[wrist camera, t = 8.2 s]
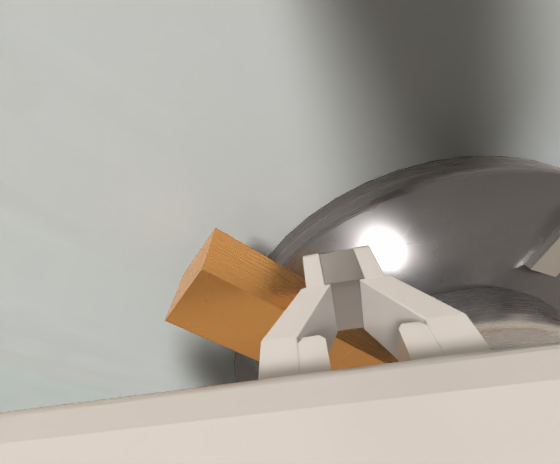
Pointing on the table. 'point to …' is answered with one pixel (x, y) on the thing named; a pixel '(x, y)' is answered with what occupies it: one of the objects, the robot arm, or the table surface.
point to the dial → (348, 343)
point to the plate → (443, 229)
